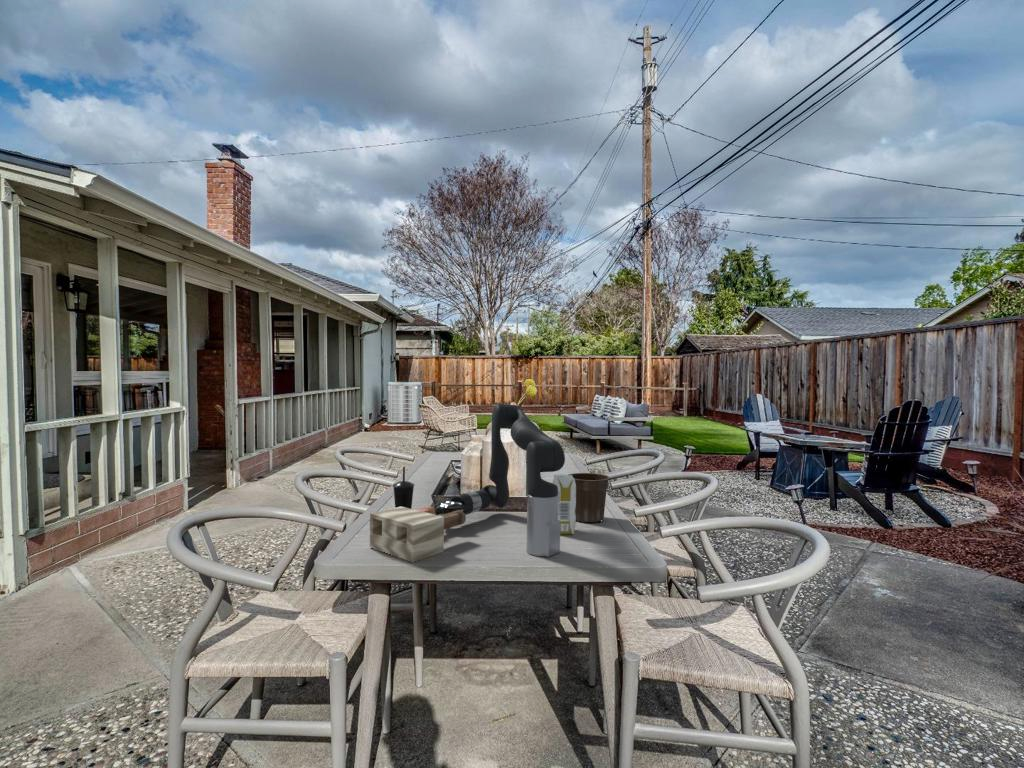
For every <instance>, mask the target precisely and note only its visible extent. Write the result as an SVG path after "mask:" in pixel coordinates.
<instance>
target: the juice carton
mask: <svg viewBox="0 0 1024 768" xmlns="http://www.w3.org/2000/svg"><path fill="white" fill-rule="evenodd" d="M552 483H553V484H555V485H557V487H558V517H557V520H560V535H565V534H573V535H574V534H575V530H576V521H577V520H576V484H575V479H574V478H573V477H572V475H568V474H554V475H553V480H552Z"/></svg>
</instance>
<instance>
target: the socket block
mask: <svg viewBox="0 0 1024 768" xmlns="http://www.w3.org/2000/svg"><path fill="white" fill-rule="evenodd" d="M444 538H445V530H444V517H443V516H440V515H435V514H430V513H426V512H422V511H418V510H417V509H415V508H414V509H412V508H411V509H410V508H406V507H396V508H395V507H393V508H387V509H383V510H380V511H375V512H370V514H369V548H370V547H371V548H374V549H376V550H375V551H377V550H380V551H382V552H381V553H383V552H385V553H384V554H386V553H388V554H387V555H389V554H391V555H390V556H392V555H394V556H393V557H395V556H397V557H396V558H398V557H399V558H398V559H401V558H403V559H402V560H404V559H405V560H404V561H407V560H408V562H410V561H411V562H410V563H416V562H419V561H421V560H425V559H427V558H430V557H432V556H435V555H439V554H441V553H444V551H445V550H444V548H445V546H444V545H445V544H444V542H445V539H444ZM371 548H370V549H371ZM374 549H373V550H374ZM380 551H379V552H380ZM418 560H419V561H418ZM415 561H416V562H415Z"/></svg>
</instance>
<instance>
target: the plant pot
mask: <svg viewBox="0 0 1024 768" xmlns="http://www.w3.org/2000/svg"><path fill="white" fill-rule="evenodd" d="M567 475H572V477H573V478H574V479H575V484H576V521H577V522H579V521H581V522H580V523H584V522H595V523H597V522H599V521H601V520H603V519H604V518H605V509H606V499H607V489H608V487H609V480H610V478H611V477H610V476H609V475H607V474H601V473H592V472H575V473H574V472H573V473H569V474H567ZM603 521H604V520H603ZM601 522H602V521H601Z"/></svg>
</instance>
